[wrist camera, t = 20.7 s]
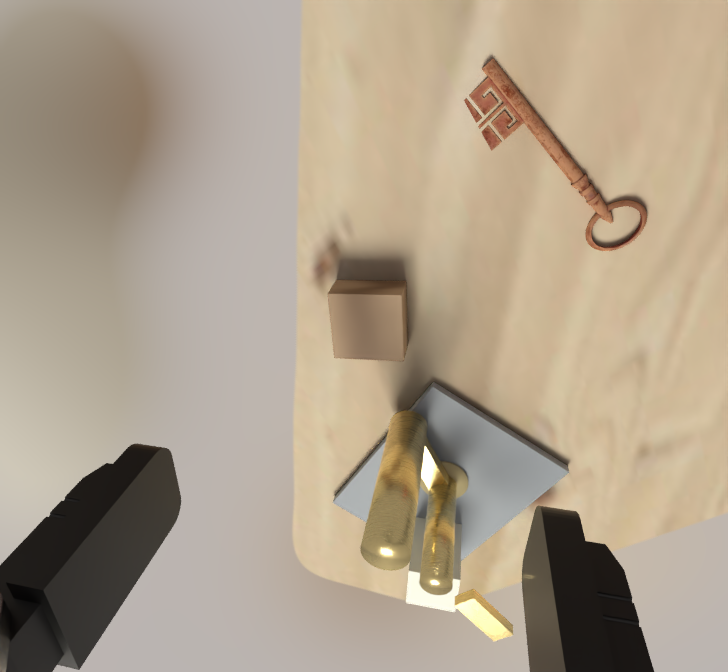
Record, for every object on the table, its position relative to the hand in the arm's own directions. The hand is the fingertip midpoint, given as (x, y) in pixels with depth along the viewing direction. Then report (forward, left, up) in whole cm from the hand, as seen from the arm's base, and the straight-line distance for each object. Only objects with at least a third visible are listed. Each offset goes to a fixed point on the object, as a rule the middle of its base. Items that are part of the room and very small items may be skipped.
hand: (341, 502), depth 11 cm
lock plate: (-16, +21, -28) cm, 38 cm away
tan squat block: (-1, +10, -28) cm, 30 cm away
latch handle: (-15, +19, -27) cm, 36 cm away
